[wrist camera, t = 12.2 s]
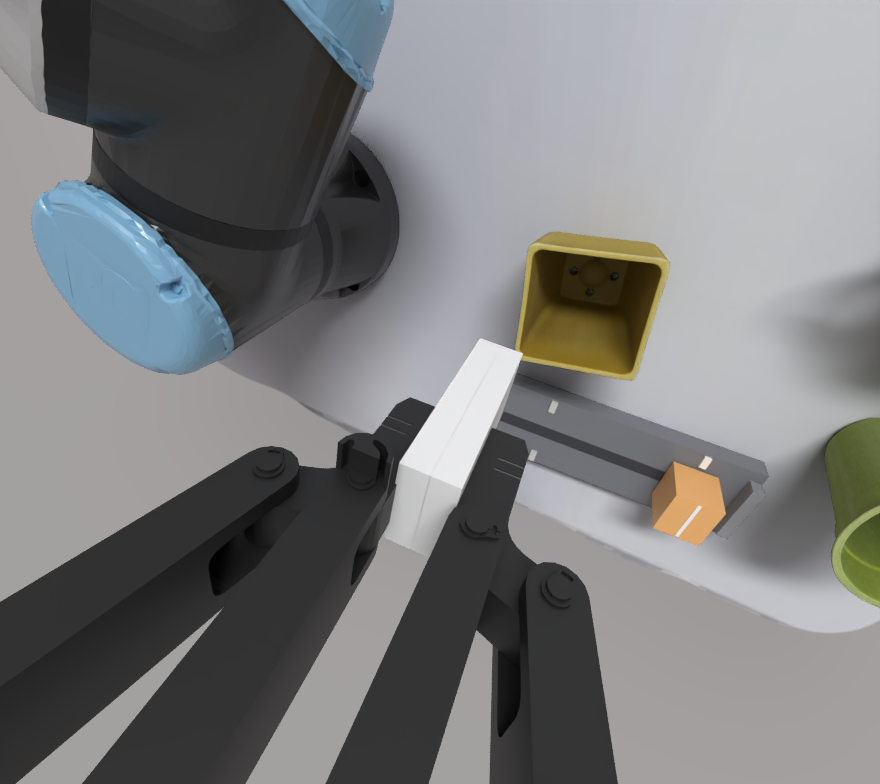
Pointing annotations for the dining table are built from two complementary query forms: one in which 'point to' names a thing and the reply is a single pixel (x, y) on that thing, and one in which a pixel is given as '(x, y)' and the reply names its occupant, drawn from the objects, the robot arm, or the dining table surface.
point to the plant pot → (856, 507)
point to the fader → (687, 503)
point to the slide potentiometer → (623, 449)
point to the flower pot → (590, 303)
